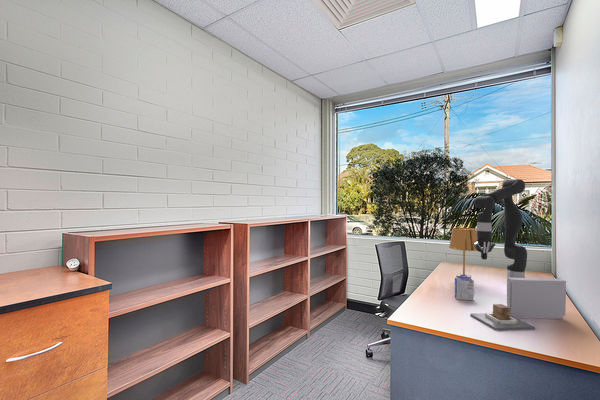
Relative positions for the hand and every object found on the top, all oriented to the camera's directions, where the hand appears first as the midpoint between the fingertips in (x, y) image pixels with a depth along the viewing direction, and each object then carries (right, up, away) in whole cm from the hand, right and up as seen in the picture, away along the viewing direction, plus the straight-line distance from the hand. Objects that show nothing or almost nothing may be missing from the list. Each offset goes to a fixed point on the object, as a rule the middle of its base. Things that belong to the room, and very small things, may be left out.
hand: (484, 259), depth 177 cm
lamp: (+14, -27, +47) cm, 56 cm away
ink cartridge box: (-6, -27, +10) cm, 29 cm away
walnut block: (-8, -25, -26) cm, 37 cm away
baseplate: (-8, -26, -27) cm, 38 cm away
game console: (+16, -27, -18) cm, 36 cm away
